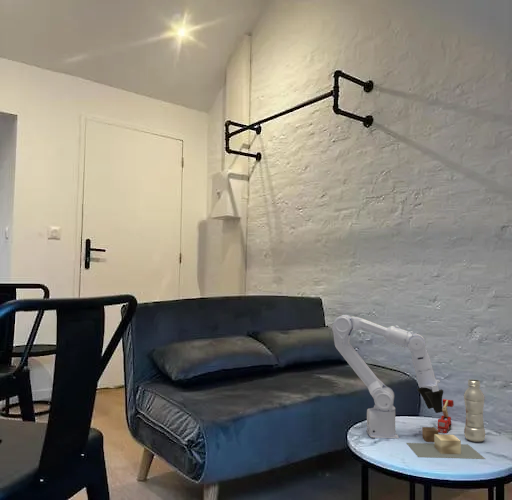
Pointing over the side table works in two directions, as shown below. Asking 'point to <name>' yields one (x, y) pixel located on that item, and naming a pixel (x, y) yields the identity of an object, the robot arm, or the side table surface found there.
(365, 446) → the side table surface
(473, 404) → the plastic bottle
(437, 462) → the side table surface
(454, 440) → the birch base block
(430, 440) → the walnut block
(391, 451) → the side table surface
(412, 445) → the grey flat rectangular panel
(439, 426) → the toy fire truck
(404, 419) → the side table surface
